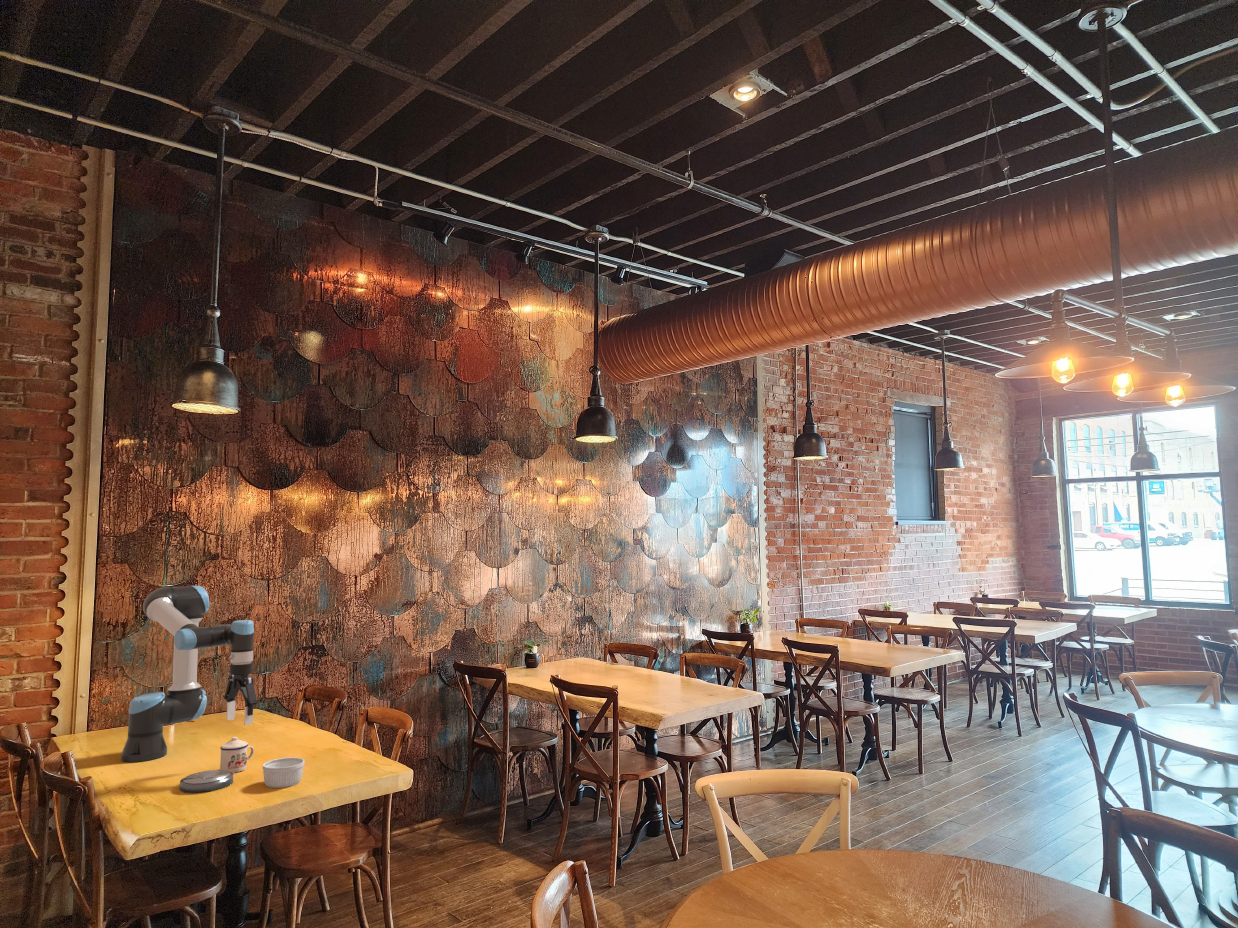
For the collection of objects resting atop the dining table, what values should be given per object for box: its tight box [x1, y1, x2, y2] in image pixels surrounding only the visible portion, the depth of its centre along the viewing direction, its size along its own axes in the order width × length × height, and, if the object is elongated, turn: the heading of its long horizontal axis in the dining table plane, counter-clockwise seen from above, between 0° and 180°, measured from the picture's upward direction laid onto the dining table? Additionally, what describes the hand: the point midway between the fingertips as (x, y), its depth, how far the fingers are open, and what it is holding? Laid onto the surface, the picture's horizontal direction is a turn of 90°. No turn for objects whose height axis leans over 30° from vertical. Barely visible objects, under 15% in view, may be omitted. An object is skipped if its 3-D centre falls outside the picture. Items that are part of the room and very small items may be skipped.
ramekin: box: [262, 756, 306, 789], centre depth 259 cm, size 13×13×7 cm
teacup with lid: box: [219, 736, 255, 774], centre depth 275 cm, size 12×9×12 cm
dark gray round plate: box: [179, 769, 234, 794], centre depth 257 cm, size 16×16×3 cm
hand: (239, 721), depth 276 cm, fingers open, 13 cm apart
